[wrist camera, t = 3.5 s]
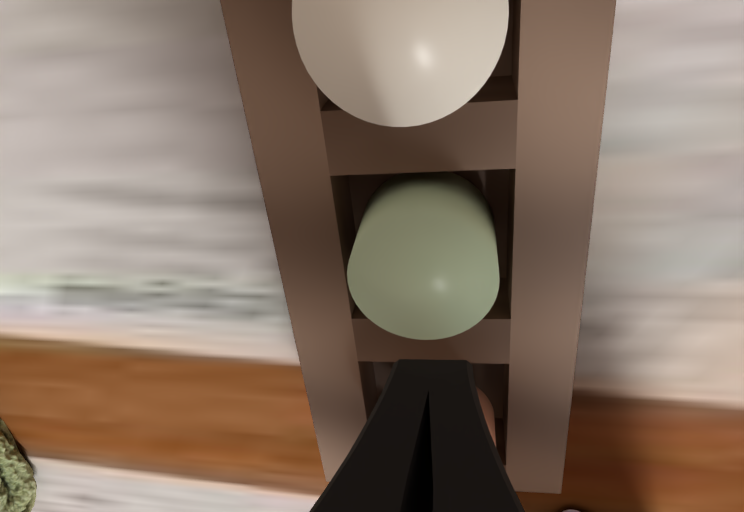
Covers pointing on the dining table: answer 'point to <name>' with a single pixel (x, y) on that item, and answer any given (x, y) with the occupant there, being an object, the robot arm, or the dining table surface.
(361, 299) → the sage button
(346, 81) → the cream button
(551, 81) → the button panel
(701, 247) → the dining table surface
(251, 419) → the dining table surface
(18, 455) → the washcloth
